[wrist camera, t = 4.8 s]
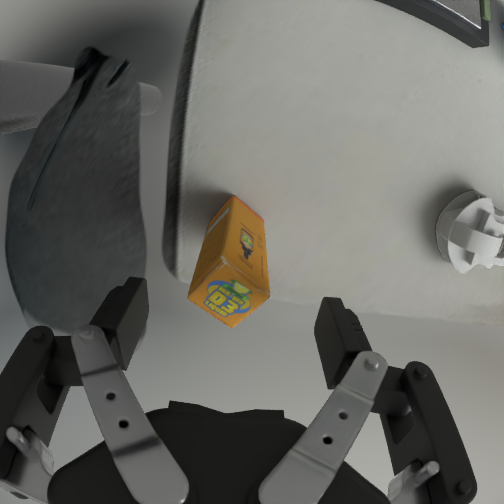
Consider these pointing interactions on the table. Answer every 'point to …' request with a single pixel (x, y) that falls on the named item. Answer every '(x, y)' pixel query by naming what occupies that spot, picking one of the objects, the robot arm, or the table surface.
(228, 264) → the supplement box
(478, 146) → the table surface
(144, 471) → the robot arm
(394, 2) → the scale
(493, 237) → the zipper pull
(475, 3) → the weighing pan
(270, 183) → the table surface
